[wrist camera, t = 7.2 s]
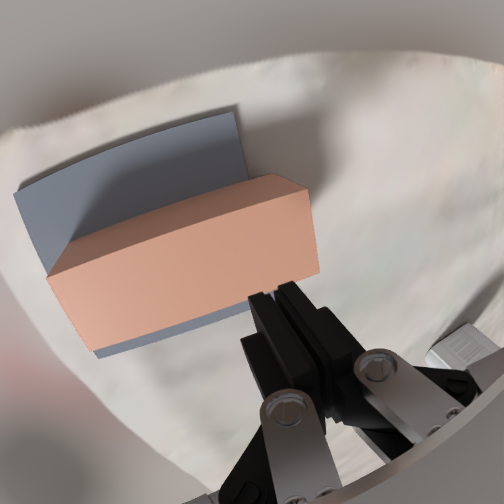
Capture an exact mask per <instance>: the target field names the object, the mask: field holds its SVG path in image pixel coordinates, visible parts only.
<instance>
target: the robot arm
mask: <svg viewBox="0 0 504 504" xmlns="http://www.w3.org/2000/svg"><path fill="white" fill-rule="evenodd" d="M274 298H275V300H274V299H273V297H272V296H271V294H270V293H268V294H264V293H263V292H259V293H256V294H253V295H250V296H248V302H249V305H250V309H251V312H252V316H253V319H254V323H255V326H256V330H257V333H255V334H252V335H250V336H247V337H244V338H241V339H240V341H241V344H242V347H243V350H244V352H245V355H246V358H247V361H248V363H249V366H250V368H251V371H252V373H253V376H254V378H255V381H256V383H257V385H258V388H259V390H260V392H261V395H262V397H263V399H264V402H263V403H262V405H261V408H260V420H261V425H260V427H259V429H258V430H257V432H256V434H255V435H254V437H253V438H252V440H251V442H250V443H249V445H248V446H247V448H246V450H245V451H244V453H243V454H242V456H241V457H240V459H239V461H238V462H237V464H236V465H235V467H234V468H233V470H232V471H231V473H230V474H229V476H228V477H227V479H226V480H225V482H224V483H223V485H222V486H221V488H220V490H218V491H216V492H213V493H211V494H209V495H207V494H204V495H201V496H199V497H197V498H195V499H193V500H190V501H188V502H185V503H183V504H504V348H501V349H499V350H498V351H496V352H494V353H492V354H490V355H488V356H486V357H484V358H482V359H480V360H478V361H476V362H474V363H472V364H470V365H468V366H466V368H465V370H463V371H462V370H456V369H442V368H429V367H418V366H412V365H410V364H409V363H408V362H406V361H405V360H404V359H402V358H401V357H400V356H399V355H397V354H396V353H394V352H392V351H391V350H387V349H372V350H368V351H366V350H365V349H364V348H363V347H362V346H361V345H360V343H359V342H358V341H357V340H356V339H355V338H354V337H353V335H352V334H351V333H350V332H349V331H348V330H347V329H346V327H345V326H344V325H343V324H342V323H341V322H340V321H339V319H338V318H337V317H336V316H335V315H334V314H333V313H332V311H331V310H330V309H329V308H328V307H322V308H320V309H316V307H315V306H314V305H313V304H312V303H311V301H310V300H309V299H308V298H307V297H306V295H305V294H304V293H303V292H302V291H301V289H300V288H299V287H298V286H297V285H296V283H295V282H294V281H289V282H286V283H284V284H281V285H278V290H276V291H274ZM325 417H326V418H327V419H328V418H330V417H332V418H333V420H334V421H335V423H339V422H341V421H342V422H343V424H344V425H348V426H352V427H353V429H354V431H355V432H356V433H357V434H358V435H359V436H360V437H361V438H362V439H363V440H364V441H365V443H366V444H367V445H368V446H369V447H370V448H371V449H372V450H373V451H374V452H375V453H376V454H377V455H378V456H379V457H380V458H381V459H382V460H383V461H384V462H385V463H386V465H384V466H382V467H380V468H379V469H377V470H375V471H373V472H371V473H370V474H368V475H366V476H364V477H362V478H360V479H358V480H356V481H354V482H352V483H350V484H348V485H346V486H344V487H342V484H341V481H340V478H339V475H338V472H337V469H336V466H335V463H334V461H333V458H332V455H331V452H330V449H329V446H328V443H327V441H326V438H325V435H326V424H325Z"/></svg>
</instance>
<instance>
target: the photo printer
mask: <svg viewBox="0 0 504 504" xmlns="http://www.w3.org/2000/svg"><path fill="white" fill-rule="evenodd" d="M499 349H501V348H500V347H499V346H497V345H496V344H495V343H494V342H493V341H491V340H490V339H489V338H488V337H487V336H485V335H484V334H483V333H482V332H480V331H479V330H478V329H477V328H476V327H474V326H473V325H472V324H470V323H467V324H465V325H463V326H462V327H460V328H459V329H458V330H456V331H455V332H453V333H452V334H450V335H449V336H448V337H446V338H445V339H443V340H441V341H440V342H439V343H437V344H436V345H434V346H433V347H432V348H431V349H430V350H429V351H428V352H427V354H426V357H425V361H426V363H427V366H428V367H429V368H442V369H456V370H462V371H463V370H465V368H466V366H468V365H470V364H472V363H474V362H476V361H478V360H480V359H482V358H484V357H486V356H488V355H490V354H492V353H494V352H496V351H498V350H499Z"/></svg>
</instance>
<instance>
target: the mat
mask: <svg viewBox="0 0 504 504" xmlns="http://www.w3.org/2000/svg"><path fill="white" fill-rule="evenodd" d="M247 180H249V177H248V172H247V168H246V164H245V160H244V155H243V151H242V147H241V143H240V138H239V134H238V130H237V126H236V122H235V117H234V113H233V112H229V113H224V114H220V115H216V116H212V117H208V118H205V119H201V120H197V121H194V122H190V123H187V124H183V125H180V126H176V127H173V128H170V129H166V130H163V131H160V132H157V133H154V134H151V135H148V136H145V137H142V138H139V139H136V140H133V141H131V142H128V143H125V144H122V145H120V146H117V147H114V148H112V149H109V150H107V151H104V152H101V153H99V154H96V155H94V156H92V157H89V158H87V159H84V160H82V161H80V162H77V163H75V164H73V165H71V166H68V167H66V168H64V169H62V170H60V171H57V172H55V173H53V174H51V175H49V176H47V177H45V178H43V179H41V180H39V181H37V182H35V183H33V184H31V185H29V186H27V187H25V188H23V189H21V190H20V191H18V192H16V193H14V194H13V195H14V198H15V201H16V203H17V206H18V209H19V211H20V214H21V217H22V219H23V222H24V224H25V226H26V229H27V231H28V234H29V236H30V238H31V240H32V243H33V245H34V247H35V249H36V252H37V254H38V256H39V258H40V260H41V262H42V264H43V266H44V268H45V270H46V272H47V274H49V273H50V271H51V269H52V268H53V266H54V265H55V263H56V261H57V260H58V258H59V257H60V255H61V254H62V252H63V250H64V249H65V247H66V246H67V244H68V243H69V242H71V241H74V240H76V239H79V238H81V237H84V236H86V235H89V234H91V233H94V232H96V231H99V230H101V229H104V228H107V227H109V226H112V225H114V224H117V223H120V222H122V221H125V220H128V219H131V218H133V217H136V216H139V215H142V214H145V213H147V212H150V211H153V210H156V209H159V208H162V207H165V206H168V205H170V204H173V203H176V202H179V201H182V200H186V199H189V198H192V197H195V196H198V195H201V194H204V193H207V192H211V191H214V190H217V189H220V188H224V187H227V186H230V185H233V184H237V183H240V182H244V181H247ZM268 293H270V294H271V296H272V297H273V299H274V300H275V298H274V290H273V291H270V292H268ZM268 293H265V294H268ZM248 310H250V305H249V302H248V300H246V301H243V302H240V303H237V304H235V305H232V306H229V307H226V308H223V309H220V310H218V311H215V312H212V313H209V314H206V315H203V316H200V317H197V318H194V319H191V320H188V321H186V322H183V323H180V324H177V325H174V326H170V327H167V328H164V329H161V330H158V331H155V332H152V333H149V334H146V335H143V336H140V337H136V338H133V339H130V340H127V341H124V342H120V343H117V344H114V345H110V346H107V347H104V348H100V349H97V350H94V351H93V352H94V353H95V355H96V356H97V358H98V359H100V358H104V357H107V356H111V355H114V354H118V353H121V352H124V351H128V350H131V349H134V348H138V347H141V346H144V345H147V344H150V343H154V342H157V341H160V340H163V339H166V338H169V337H172V336H175V335H178V334H181V333H184V332H187V331H190V330H193V329H196V328H199V327H202V326H205V325H208V324H211V323H214V322H217V321H220V320H222V319H225V318H228V317H231V316H234V315H237V314H239V313H242V312H245V311H248Z"/></svg>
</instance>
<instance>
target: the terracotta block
mask: <svg viewBox="0 0 504 504" xmlns="http://www.w3.org/2000/svg"><path fill="white" fill-rule="evenodd" d="M318 273H320V270H319V262H318V255H317V247H316V240H315V232H314V225H313V219H312V212H311V205H310V199H309V193H308V189H307V188H305V187H303V186H300V185H298V184H296V183H294V182H291V181H289V180H287V179H285V178H282V177H280V176H278V175H276V174H273V173H272V174H268V175H265V176H261V177H258V178H254V179H251V180H247V181H244V182H240V183H237V184H233V185H230V186H227V187H224V188H220V189H217V190H214V191H211V192H207V193H204V194H201V195H198V196H195V197H192V198H189V199H186V200H182V201H179V202H176V203H173V204H170V205H168V206H165V207H162V208H159V209H156V210H153V211H150V212H147V213H145V214H142V215H139V216H136V217H133V218H131V219H128V220H125V221H122V222H120V223H117V224H114V225H112V226H109V227H107V228H104V229H101V230H99V231H96V232H94V233H91V234H89V235H86V236H84V237H81V238H79V239H76V240H74V241H71V242H69V243H68V244H67V246H66V247H65V249H64V250H63V252H62V254H61V255H60V257H59V258H58V260H57V261H56V263H55V265H54V266H53V268H52V269H51V271H50V273H49V274H48V276H47V278H46V279H47V281H48V283H49V285H50V287H51V289H52V291H53V293H54V294H55V296H56V298H57V300H58V301H59V303H60V305H61V307H62V308H63V310H64V312H65V314H66V315H67V317H68V319H69V320H70V322H71V323H72V325H73V327H74V328H75V330H76V331H77V333H78V335H79V336H80V338H81V339H82V341H83V342H84V344H85V345H86V347H87V348H88V350H89V351H94V350H97V349H100V348H104V347H107V346H110V345H114V344H117V343H120V342H124V341H127V340H130V339H133V338H136V337H140V336H143V335H146V334H149V333H152V332H155V331H158V330H161V329H164V328H167V327H170V326H174V325H177V324H180V323H183V322H186V321H188V320H191V319H194V318H197V317H200V316H203V315H206V314H209V313H212V312H215V311H218V310H220V309H223V308H226V307H229V306H232V305H235V304H237V303H240V302H243V301H246V300H248V296H250V295H253V294H256V293H259V292H263V293H264V294H265V293H268V292H270V291H273V290H276V289H278V285H281V284H284V283H286V282H289V281H294V282H297V281H300V280H302V279H305V278H307V277H310V276H312V275H315V274H318Z"/></svg>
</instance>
